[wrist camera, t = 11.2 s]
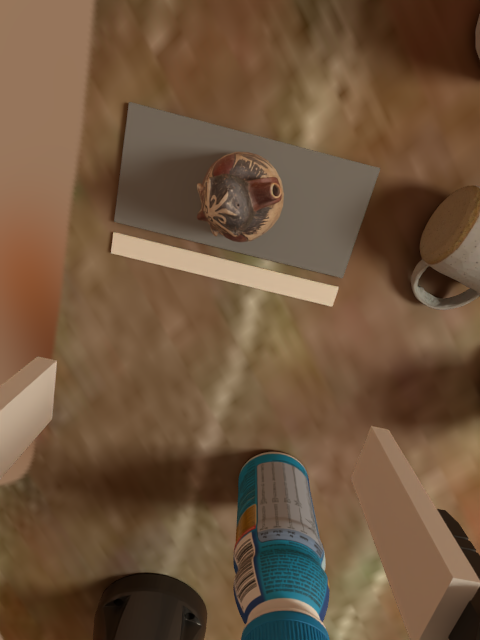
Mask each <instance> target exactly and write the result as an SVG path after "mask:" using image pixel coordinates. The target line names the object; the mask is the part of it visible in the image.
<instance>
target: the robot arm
mask: <svg viewBox="0 0 480 640" xmlns="http://www.w3.org/2000/svg"><path fill="white" fill-rule="evenodd" d="M56 365H57V361H56V360H52V359H47V358H42V357H36V358H35V359H34V360H33V361H31V362H30V363H29V364H27V365H26V366H25V367H24V368H22V369H21V370H20V371H19V372H17V373H16V374H15V375H13V376H12V377H11V378H10V379H8V380H7V381H6V382H4V383H3V384H2V385H1V386H0V479H1V478H2V477H3V476H4V474H5V473H6V472H7V471H8V470H9V469H10V467H11V466H12V465H13V464H14V463H15V462H16V460H17V459H18V458H19V457H20V456H21V455H22V453H23V452H24V451H25V450H26V449H27V448H28V446H29V445H30V444H31V443H32V442H33V441H34V439H35V438H36V437H37V436H38V435H39V434H40V432H41V431H42V430H43V429H44V428H45V427H46V425H47V424H48V423H49V422H50V421H51V420H52V414H53V402H54V389H55V377H56ZM351 481H352V483H353V486H354V489H355V492H356V494H357V497H358V500H359V502H360V505H361V508H362V511H363V513H364V516H365V519H366V521H367V524H368V527H369V529H370V532H371V535H372V538H373V540H374V543H375V546H376V548H377V551H378V554H379V557H380V559H381V562H382V565H383V567H384V570H385V573H386V576H387V578H388V581H389V584H390V586H391V589H392V592H393V595H394V597H395V600H396V603H397V605H398V608H399V611H400V614H401V616H402V619H403V622H404V624H405V627H406V630H407V633H408V635H409V638H410V640H448V639H449V640H480V556H479V554H478V553H476V549H475V548H474V546H473V545H472V543H471V542H470V541H468V537H467V535H466V534H465V532H464V531H463V529H462V528H461V526H460V525H459V523H458V522H457V521H456V520H455V519H454V518H453V517H452V516H451V515H450V514H448V513H447V512H446V511H445V510H440V509H436V507H435V505H434V504H433V502H432V500H431V499H430V497H429V495H428V494H427V492H426V490H425V489H424V487H423V486H422V484H421V482H420V481H419V479H418V477H417V476H416V474H415V472H414V471H413V469H412V467H411V466H410V464H409V462H408V461H407V459H406V457H405V456H404V454H403V453H402V451H401V449H400V448H399V446H398V444H397V443H396V441H395V439H394V438H393V436H392V434H391V433H390V431H389V430H388V429H383V428H378V427H374V426H371V428H370V430H369V433H368V435H367V438H366V440H365V443H364V446H363V448H362V451H361V453H360V456H359V458H358V461H357V463H356V466H355V469H354V471H353V474H352V476H351ZM206 622H207V610H206V606H205V604H204V602H203V600H202V599H201V597H200V596H199V595H198V594H197V593H196V592H195V591H194V590H193V589H192V588H191V587H189V586H188V585H186V584H184V583H182V582H180V581H178V580H176V579H173V578H170V577H167V576H162V575H155V574H139V575H132V576H128V577H125V578H122V579H120V580H118V581H116V582H114V583H113V584H112V585H110V586H109V587H108V588H107V589H106V590H105V592H104V593H103V595H102V597H101V600H100V603H99V606H98V608H97V611H96V614H95V619H94V632H93V640H204V637H205V631H206Z"/></svg>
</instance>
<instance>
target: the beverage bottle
mask: <svg viewBox="0 0 480 640" xmlns="http://www.w3.org/2000/svg"><path fill="white" fill-rule="evenodd" d="M234 569H235V573H236V576H235V580H234V596H235V600H236V604H237V607H238V610H239V613H240V615H241V617H242V619H243V621H244V623H245V627H244V629H243V633H242V637H241V640H329V635H328V633H327V631H326V628H325V626H324V624H323V623H322V622H323V620H324V617H325V614H326V611H327V607H328V602H329V582H328V578H327V575H326V573H325V572H324V571H325V554H324V549H323V546H322V543H321V541H320V537H319V532H318V527H317V522H316V517H315V512H314V507H313V503H312V498H311V493H310V487H309V479H308V475H307V472H306V470H305V468H304V466H303V465H302V464H301V463H300V462H299V461H298V460H297V459H296V458H294V457H293V456H291V455H288V454H285V453H281V452H265V453H261V454H258V455H256V456H254V457H253V458H251V459H250V460H248V461H247V462H246V463H245V465H244V466H243V467H242V469H241V471H240V474H239V481H238V511H237V530H236V544H235V548H234Z"/></svg>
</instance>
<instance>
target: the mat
mask: <svg viewBox="0 0 480 640" xmlns="http://www.w3.org/2000/svg"><path fill="white" fill-rule="evenodd" d="M234 152H249V153H253V154H257V155H259V156H261V157H263V158H264V159H266V160H268V161H269V162H270V164H271V165H272V166H273V167H274V168H275V169H276V171H277V173H278V175H279V177H280V179H281V181H282V186H283V192H284V200H283V208H282V211H281V214H280V217H279V219H278V220H277V221H276V223H275V224H274V225H273V226H272V227H271V228H270V229H269V230H268V231H267V232H266V233H264V234H263V235H261V236H260V237H259V238H256V239H254V240H252V241H248V242H235V241H232V240H229V239H227V238H226V237H224V236H223V235H222V234H220V233H218V235H217V236H214V235H213V233H212V231H211V227H210V225H209V223H208V222H206V221H202V220H198V219H197V214H198V213H199V212H200V210H201V200H200V195H199V192H198V190H197V184H198V183H200V184H202V183H203V180H204V178H205V175H206V173H207V171H208V170H209V168H210V167H211V165H212V164H213V163H214V162H215V161H216V160H218V159H220V158H221V157H223V156H224V155H227V154H231V153H234ZM379 171H380V168H377V167H373V166H369V165H366V164H362V163H358V162H354V161H350V160H347V159H343V158H339V157H335V156H332V155H328V154H324V153H320V152H316V151H313V150H309V149H305V148H301V147H298V146H294V145H290V144H286V143H282V142H279V141H275V140H271V139H267V138H264V137H260V136H256V135H252V134H248V133H245V132H241V131H237V130H233V129H230V128H226V127H222V126H218V125H214V124H211V123H207V122H203V121H199V120H196V119H192V118H188V117H184V116H180V115H177V114H173V113H169V112H165V111H162V110H158V109H154V108H150V107H146V106H143V105H139V104H135V103H131V102H129V106H128V114H127V122H126V130H125V138H124V146H123V154H122V162H121V170H120V178H119V186H118V194H117V202H116V210H115V218H114V222H117V223H121V224H125V225H129V226H133V227H137V228H141V229H145V230H149V231H153V232H158V233H162V234H166V235H170V236H174V237H178V238H182V239H186V240H190V241H194V242H198V243H202V244H206V245H210V246H214V247H218V248H222V249H226V250H230V251H234V252H239V253H243V254H247V255H251V256H255V257H259V258H263V259H267V260H271V261H275V262H279V263H283V264H287V265H291V266H295V267H299V268H303V269H307V270H311V271H315V272H320V273H324V274H328V275H332V276H336V277H340V278H343V276H344V273H345V270H346V267H347V264H348V261H349V258H350V255H351V252H352V249H353V247H354V244H355V241H356V238H357V235H358V232H359V229H360V226H361V223H362V220H363V217H364V214H365V212H366V209H367V206H368V203H369V200H370V197H371V194H372V191H373V188H374V185H375V182H376V179H377V177H378V174H379Z"/></svg>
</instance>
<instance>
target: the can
mask: <svg viewBox="0 0 480 640" xmlns="http://www.w3.org/2000/svg"><path fill="white" fill-rule="evenodd" d="M475 35H476V51H477V54H478V57H479V59H480V15H479V19H478V22H477V26H476V30H475Z"/></svg>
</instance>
